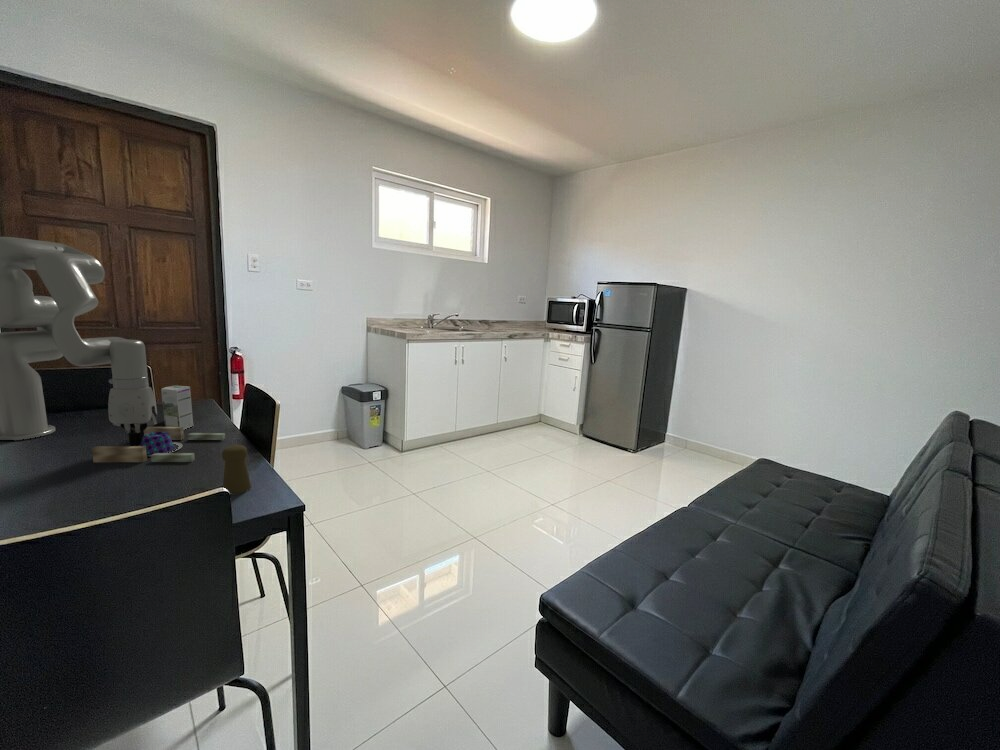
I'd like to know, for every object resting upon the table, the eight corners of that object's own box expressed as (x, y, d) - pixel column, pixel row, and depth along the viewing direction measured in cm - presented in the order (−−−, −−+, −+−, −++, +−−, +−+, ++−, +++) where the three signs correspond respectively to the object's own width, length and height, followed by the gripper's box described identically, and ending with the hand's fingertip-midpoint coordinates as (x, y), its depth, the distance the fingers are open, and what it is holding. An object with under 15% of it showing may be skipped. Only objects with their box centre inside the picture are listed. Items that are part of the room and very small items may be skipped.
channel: (93, 462, 112) (91, 448, 111) (141, 438, 130) (140, 426, 130) (191, 461, 116) (190, 448, 115) (225, 439, 134) (224, 427, 134)
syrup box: (194, 426, 144) (191, 385, 142) (179, 432, 138) (176, 389, 136) (179, 425, 145) (175, 384, 142) (163, 430, 139) (160, 388, 136)
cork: (230, 483, 105) (228, 442, 103) (255, 484, 105) (253, 442, 103) (216, 494, 99) (213, 450, 97) (243, 495, 99) (240, 451, 97)
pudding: (158, 442, 129) (156, 426, 128) (193, 446, 128) (191, 430, 127) (118, 456, 117) (116, 438, 117) (156, 460, 116) (155, 442, 115)
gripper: (90, 385, 114) (98, 449, 117) (151, 386, 116) (157, 449, 119) (111, 380, 121) (118, 440, 124) (168, 381, 123) (173, 440, 127)
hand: (137, 444), depth 122 cm, fingers closed
